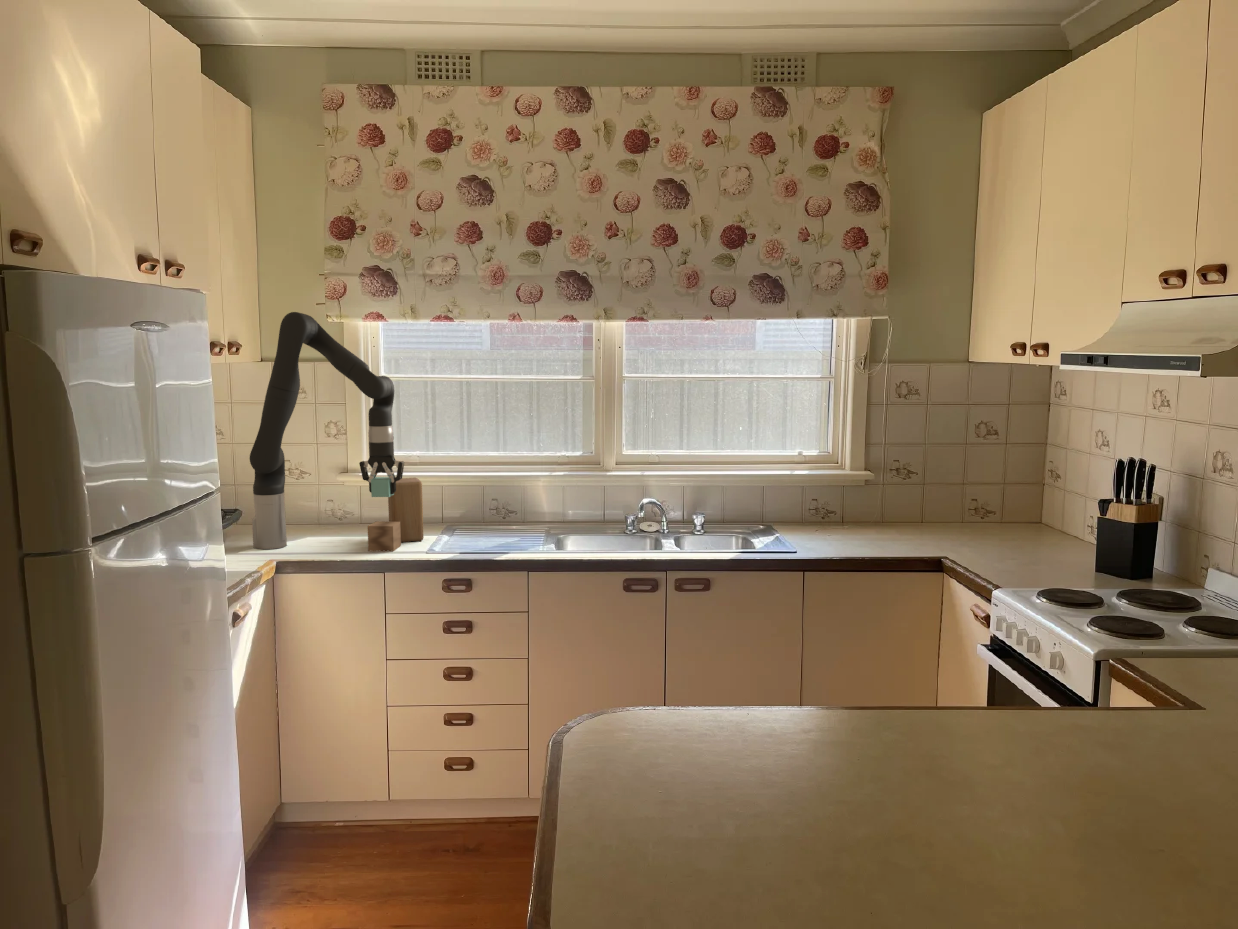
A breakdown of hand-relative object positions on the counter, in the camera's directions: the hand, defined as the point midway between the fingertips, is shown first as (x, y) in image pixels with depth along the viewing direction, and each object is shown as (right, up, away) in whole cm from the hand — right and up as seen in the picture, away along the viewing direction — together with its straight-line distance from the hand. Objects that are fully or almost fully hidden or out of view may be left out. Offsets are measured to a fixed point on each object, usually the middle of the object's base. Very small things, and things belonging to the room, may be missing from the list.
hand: (383, 493), depth 289 cm
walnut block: (0, -17, +2) cm, 18 cm away
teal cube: (0, -1, 0) cm, 1 cm away
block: (+4, -16, +16) cm, 23 cm away
